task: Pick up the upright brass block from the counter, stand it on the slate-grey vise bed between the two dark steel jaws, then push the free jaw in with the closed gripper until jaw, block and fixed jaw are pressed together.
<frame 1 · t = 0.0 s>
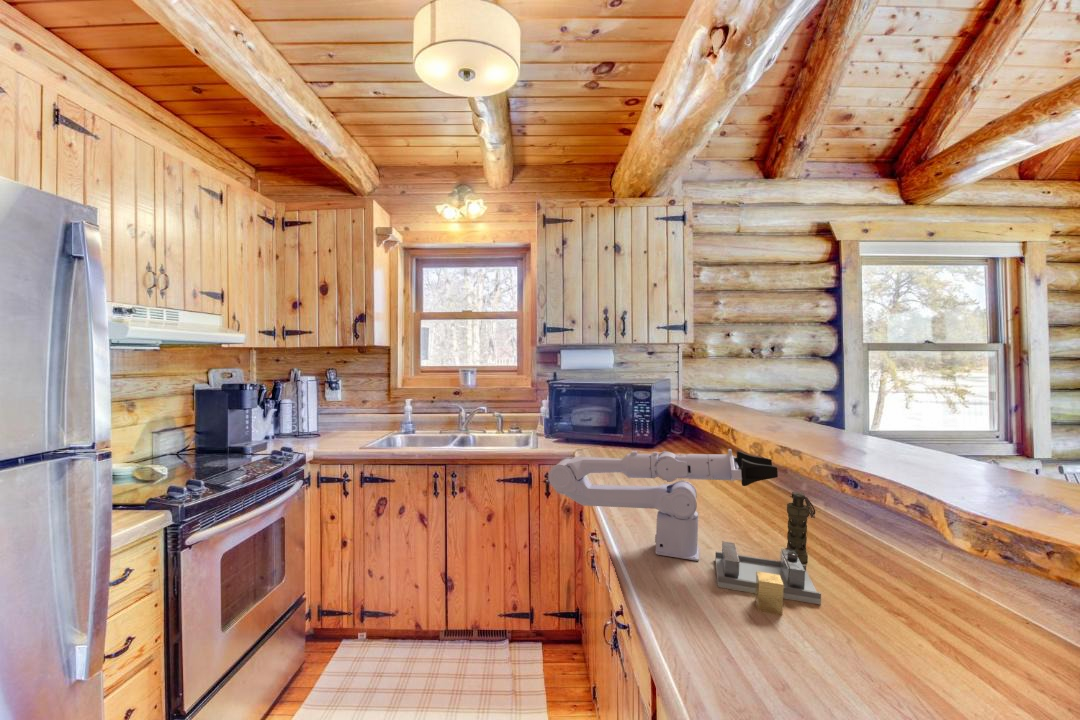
hand: (774, 467, 103), 22 cm above the counter, tool horizontal, fingers open, 7 cm apart
grenade: (799, 558, 108), on the counter
block: (768, 607, 86), on the counter
board: (763, 580, 97), on the counter
fixed jaw: (729, 574, 99), resting on board
free jaw: (791, 566, 95), point 4 cm above the counter, slide at 0.0 cm
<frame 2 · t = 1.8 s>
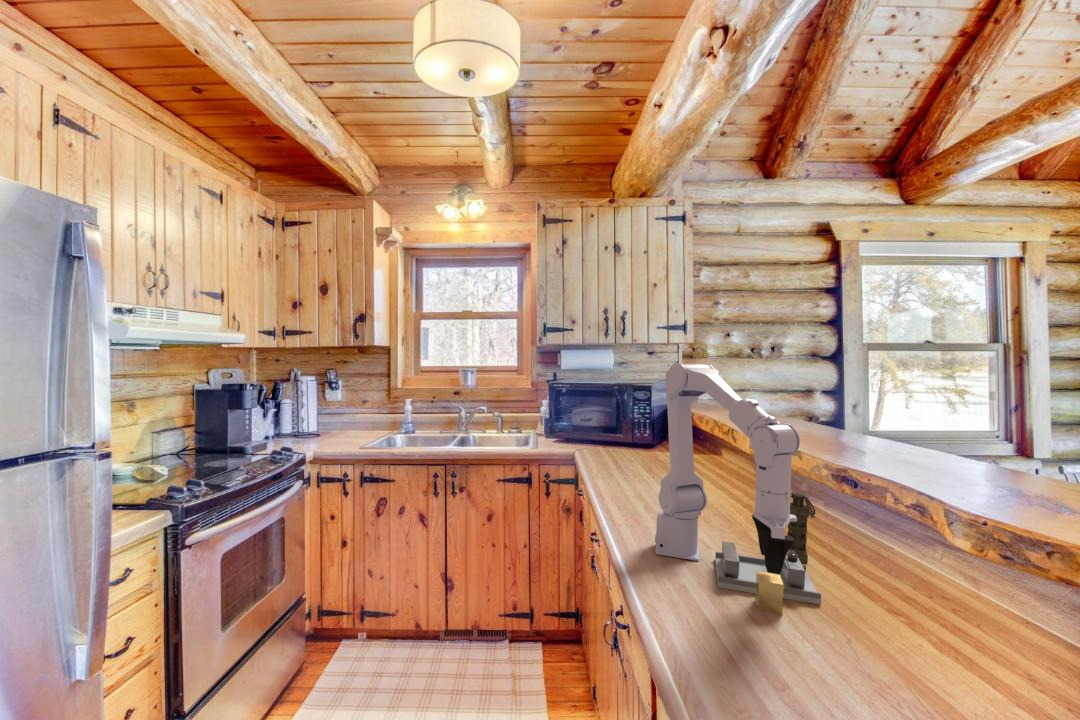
hand: (770, 563, 86), 8 cm above the counter, tool pointing down, fingers open, 7 cm apart
nothing on the counter moved.
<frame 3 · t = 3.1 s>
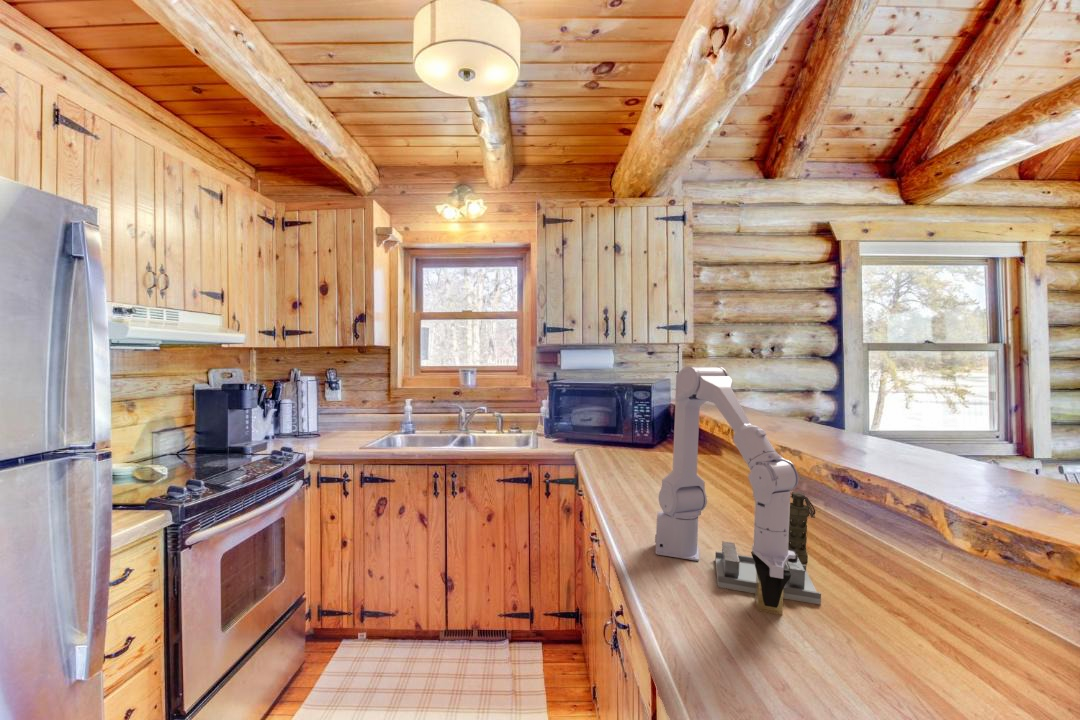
hand: (768, 599, 86), 1 cm above the counter, tool pointing down, fingers closed on block, 4 cm apart
block: (768, 607, 86), on the counter, touching gripper
everything else where it was.
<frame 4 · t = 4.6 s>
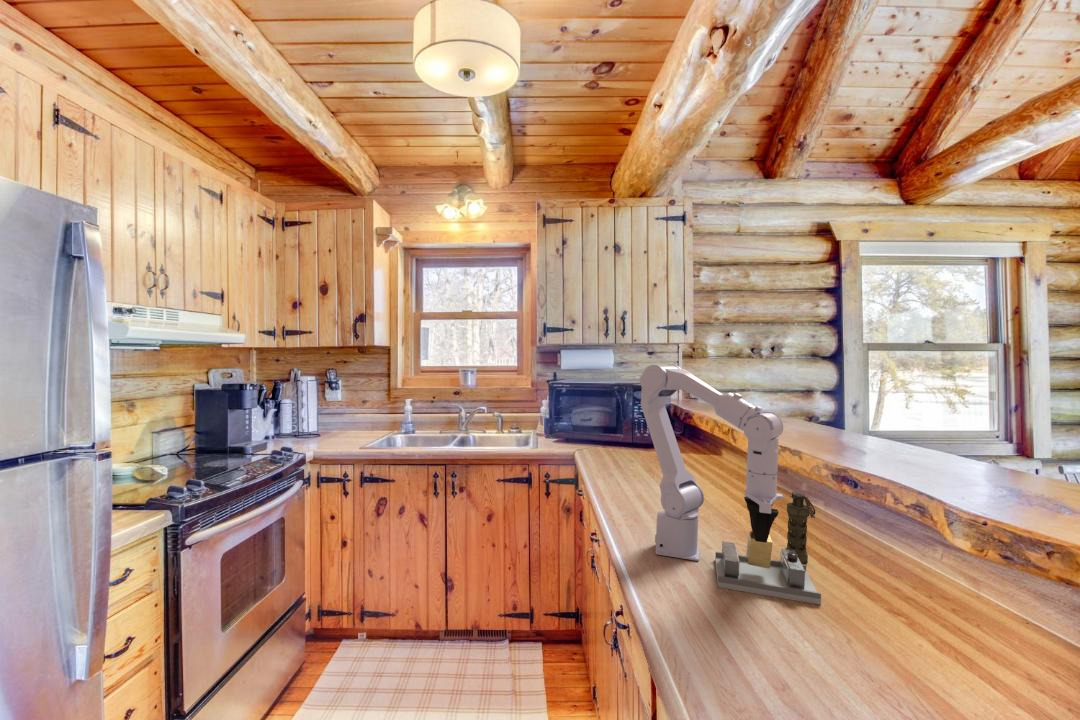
hand: (759, 537, 97), 9 cm above the counter, tool pointing down, fingers closed on block, 4 cm apart
block: (757, 562, 97), point 4 cm above the counter, touching gripper
everything else where it was.
when the fingers open (4 cm above the counter, at t = 6.0 s): block stays where it is, resting on board.
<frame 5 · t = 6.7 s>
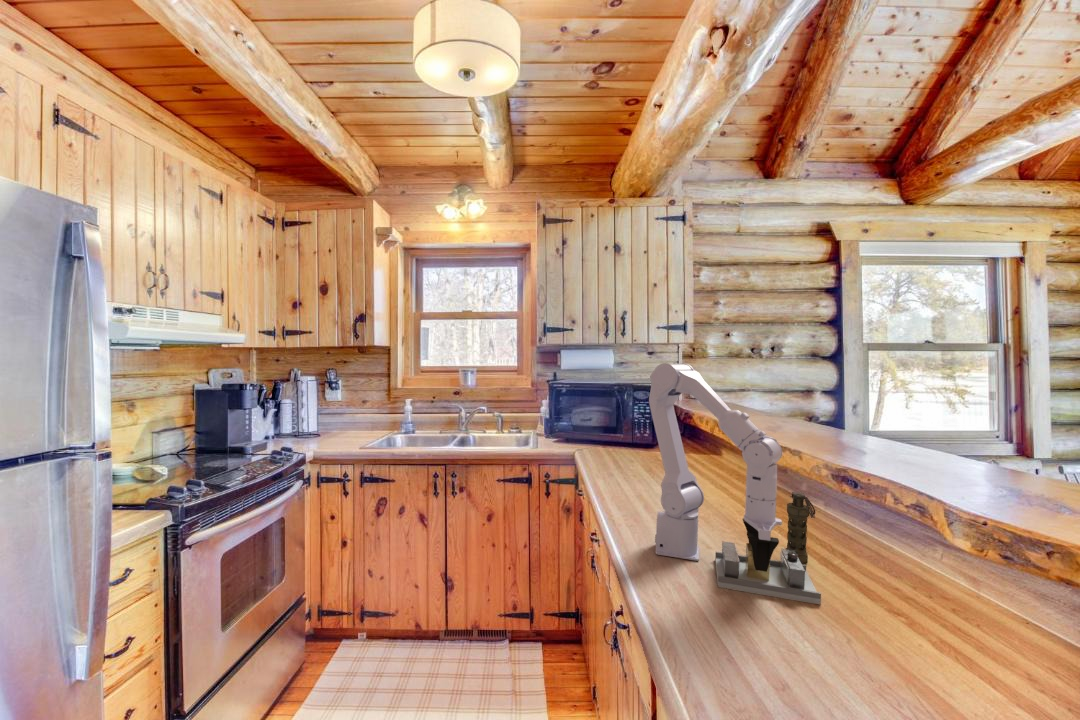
hand: (758, 562, 97), 4 cm above the counter, tool pointing down, fingers open, 7 cm apart
block: (756, 574, 97), point 1 cm above the counter, touching board
everything else where it was.
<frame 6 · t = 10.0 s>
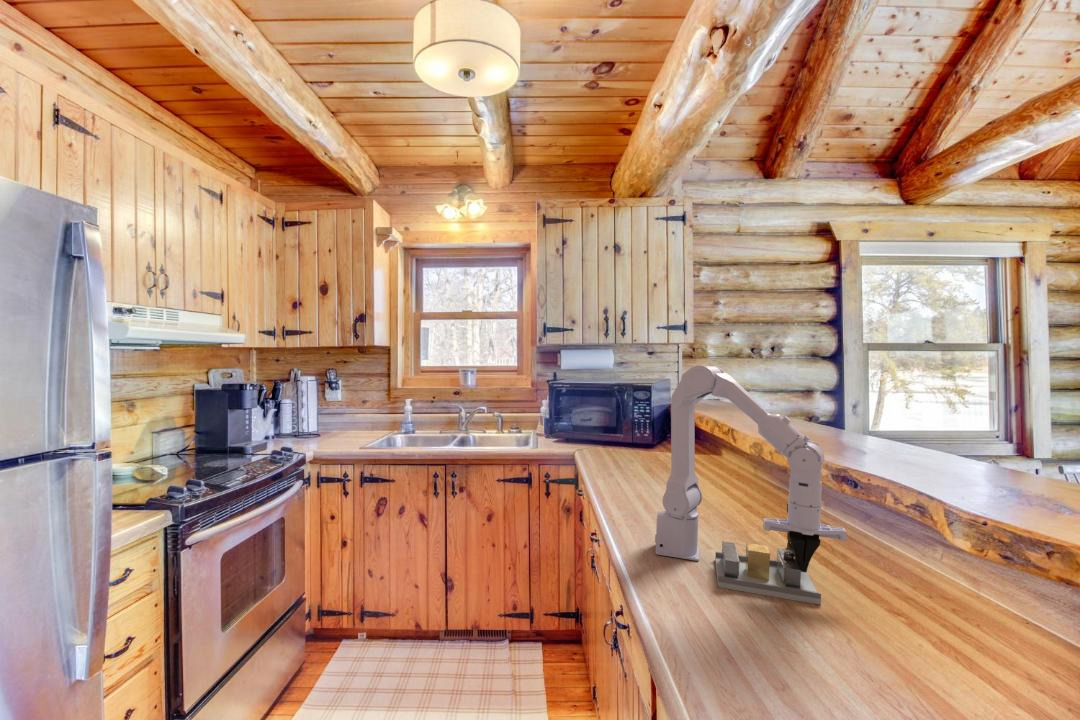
hand: (801, 569, 94), 3 cm above the counter, tool pointing down, fingers closed
free jaw: (787, 565, 95), point 4 cm above the counter, slide at 0.7 cm, touching gripper
everything else where it was.
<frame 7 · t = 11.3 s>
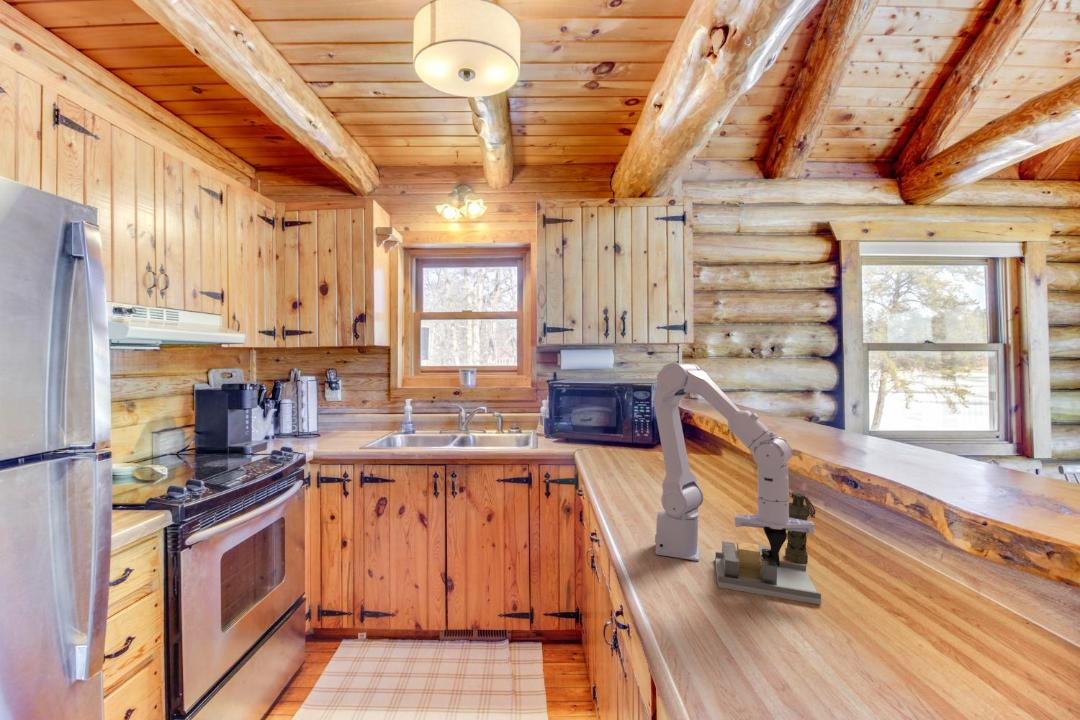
hand: (773, 564, 96), 4 cm above the counter, tool pointing down, fingers closed, pressing on free jaw
block: (747, 572, 98), point 1 cm above the counter, touching fixed jaw, free jaw
free jaw: (765, 562, 96), point 4 cm above the counter, slide at 4.8 cm, touching block, gripper
everything else where it was.
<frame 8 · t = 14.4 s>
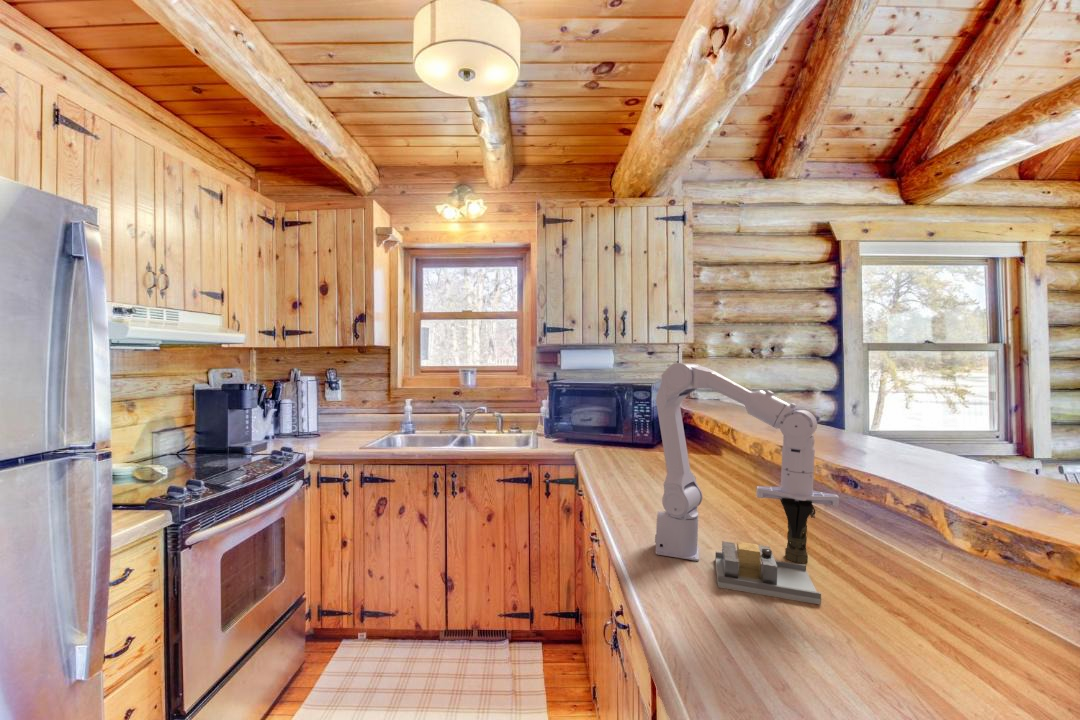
hand: (794, 536, 95), 10 cm above the counter, tool pointing down, fingers closed
block: (747, 572, 98), point 1 cm above the counter, touching board, fixed jaw, free jaw
free jaw: (765, 562, 96), point 4 cm above the counter, slide at 4.8 cm, touching block
everything else where it was.
at the end: block 0.0 cm from the target spot, point 1.0 cm above the counter; free jaw slide at 4.8 cm; block tilted 0° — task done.
